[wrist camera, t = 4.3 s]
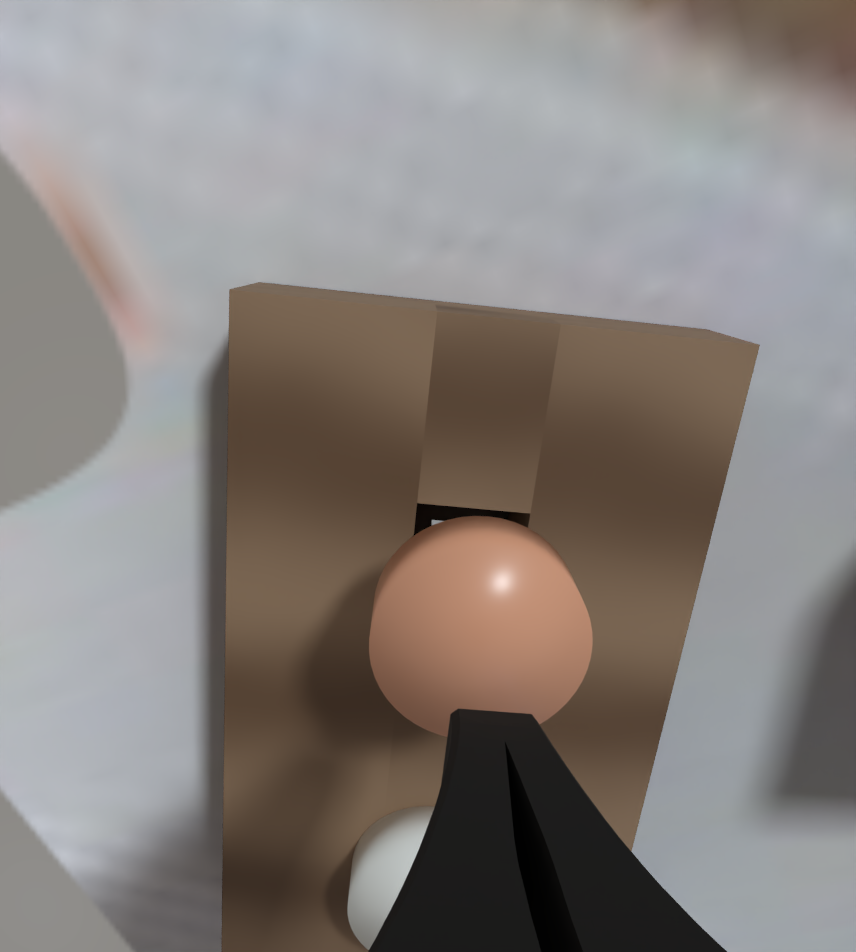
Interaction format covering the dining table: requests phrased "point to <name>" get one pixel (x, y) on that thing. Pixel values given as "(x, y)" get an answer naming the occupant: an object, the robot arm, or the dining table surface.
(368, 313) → the board
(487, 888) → the robot arm
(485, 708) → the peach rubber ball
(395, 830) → the white egg
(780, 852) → the dining table surface
